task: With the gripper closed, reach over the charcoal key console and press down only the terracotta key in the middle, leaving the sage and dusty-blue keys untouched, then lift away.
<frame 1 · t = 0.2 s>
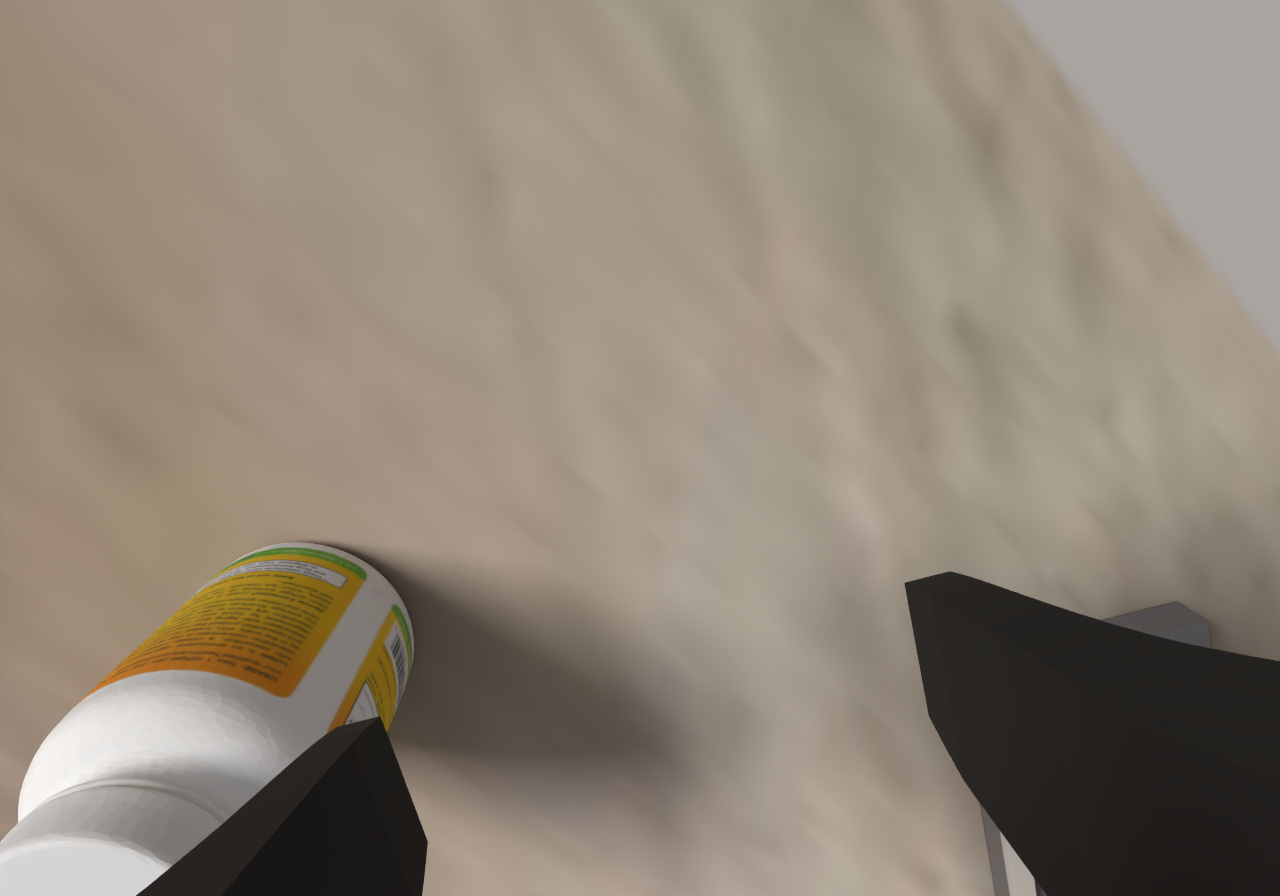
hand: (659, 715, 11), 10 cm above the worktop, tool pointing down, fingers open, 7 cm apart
supplement bottle: (312, 633, 22), on the worktop
console: (1096, 872, 24), on the worktop
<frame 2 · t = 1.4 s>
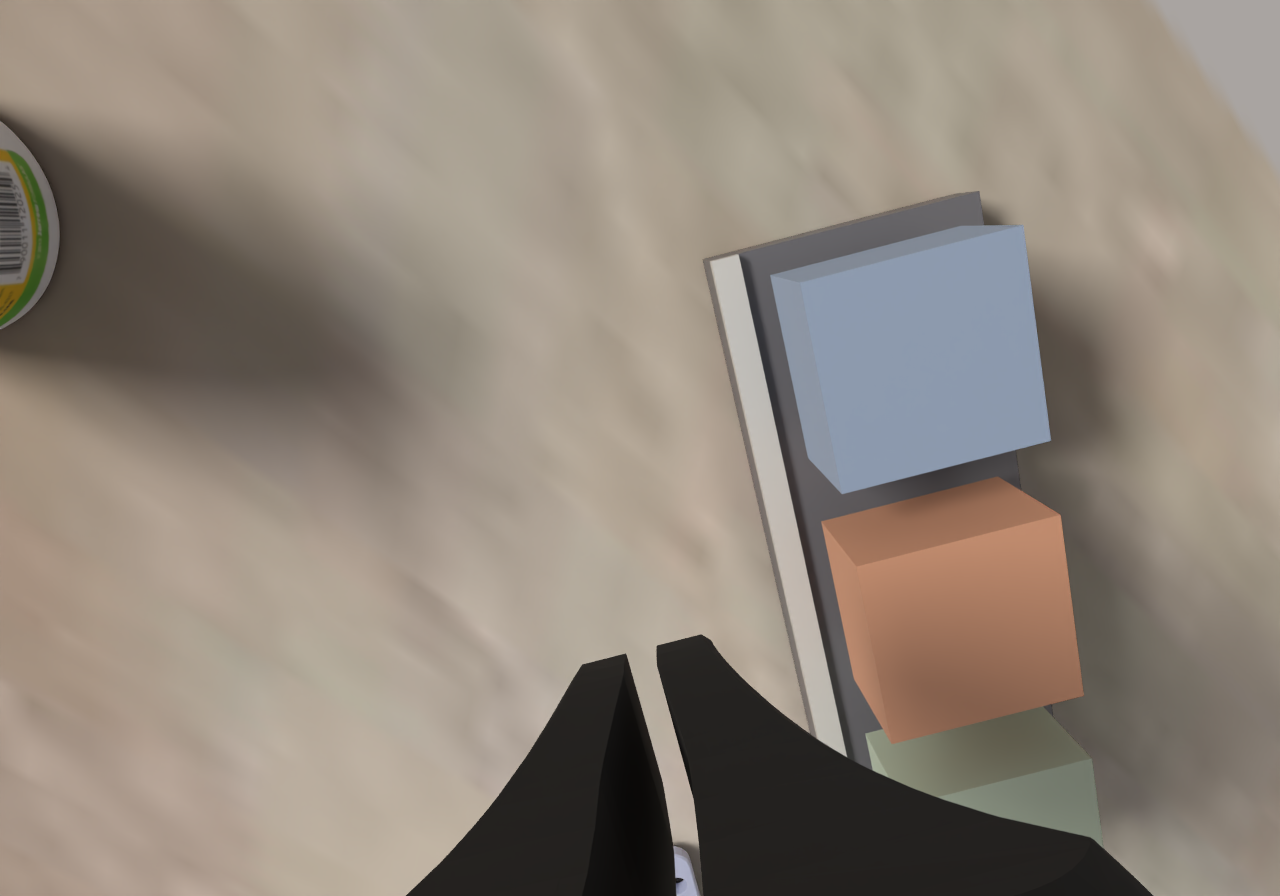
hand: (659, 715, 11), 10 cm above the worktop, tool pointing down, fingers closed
blue key: (903, 354, 17), point 4 cm above the worktop, slide at 0.0 cm
sage key: (983, 819, 19), point 4 cm above the worktop, slide at 0.0 cm
console: (888, 542, 21), on the worktop
terracotta key: (946, 604, 18), point 4 cm above the worktop, slide at 0.0 cm
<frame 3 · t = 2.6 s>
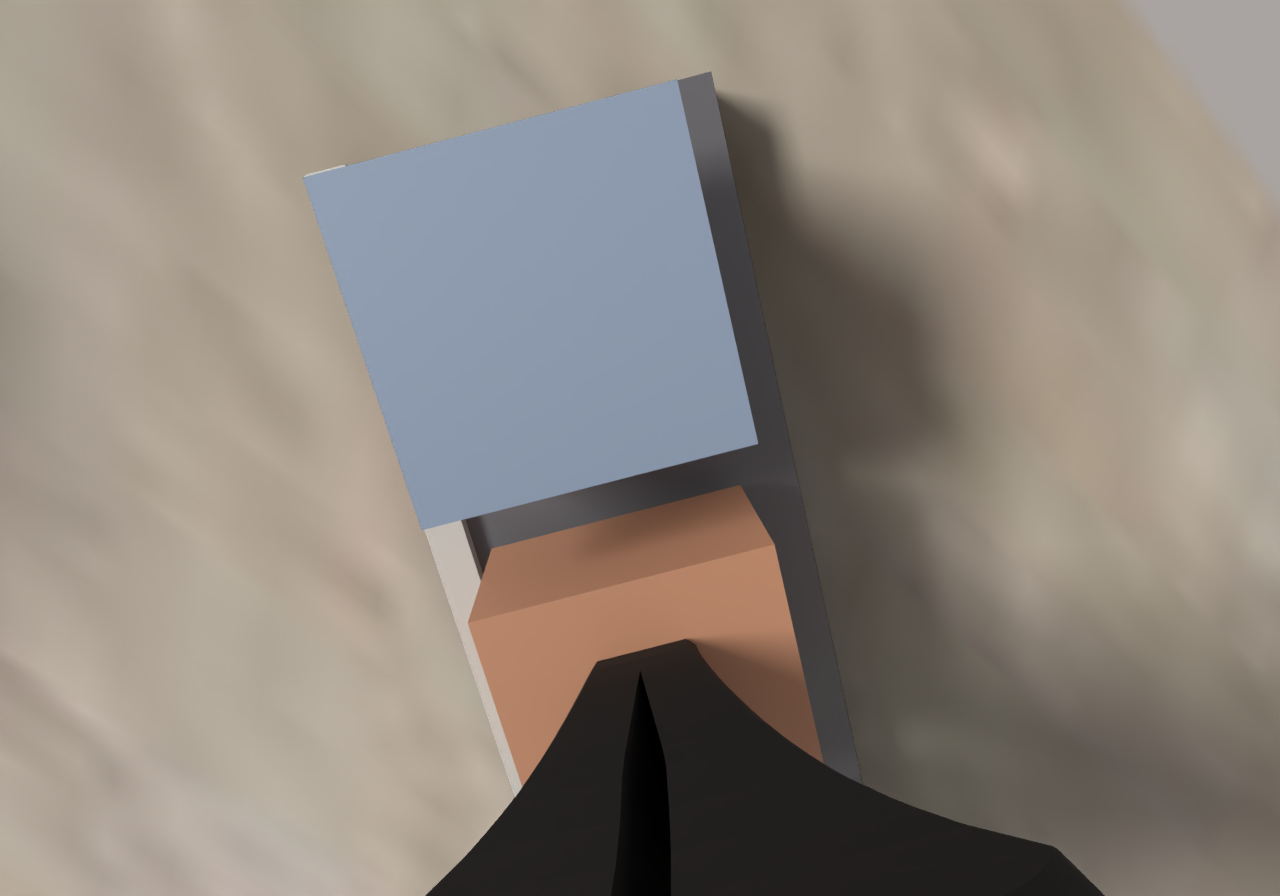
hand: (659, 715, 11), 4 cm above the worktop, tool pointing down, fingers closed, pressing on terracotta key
blue key: (548, 307, 11), point 4 cm above the worktop, slide at 0.0 cm
console: (640, 584, 15), on the worktop
terracotta key: (652, 670, 12), point 3 cm above the worktop, slide at 0.6 cm, touching gripper
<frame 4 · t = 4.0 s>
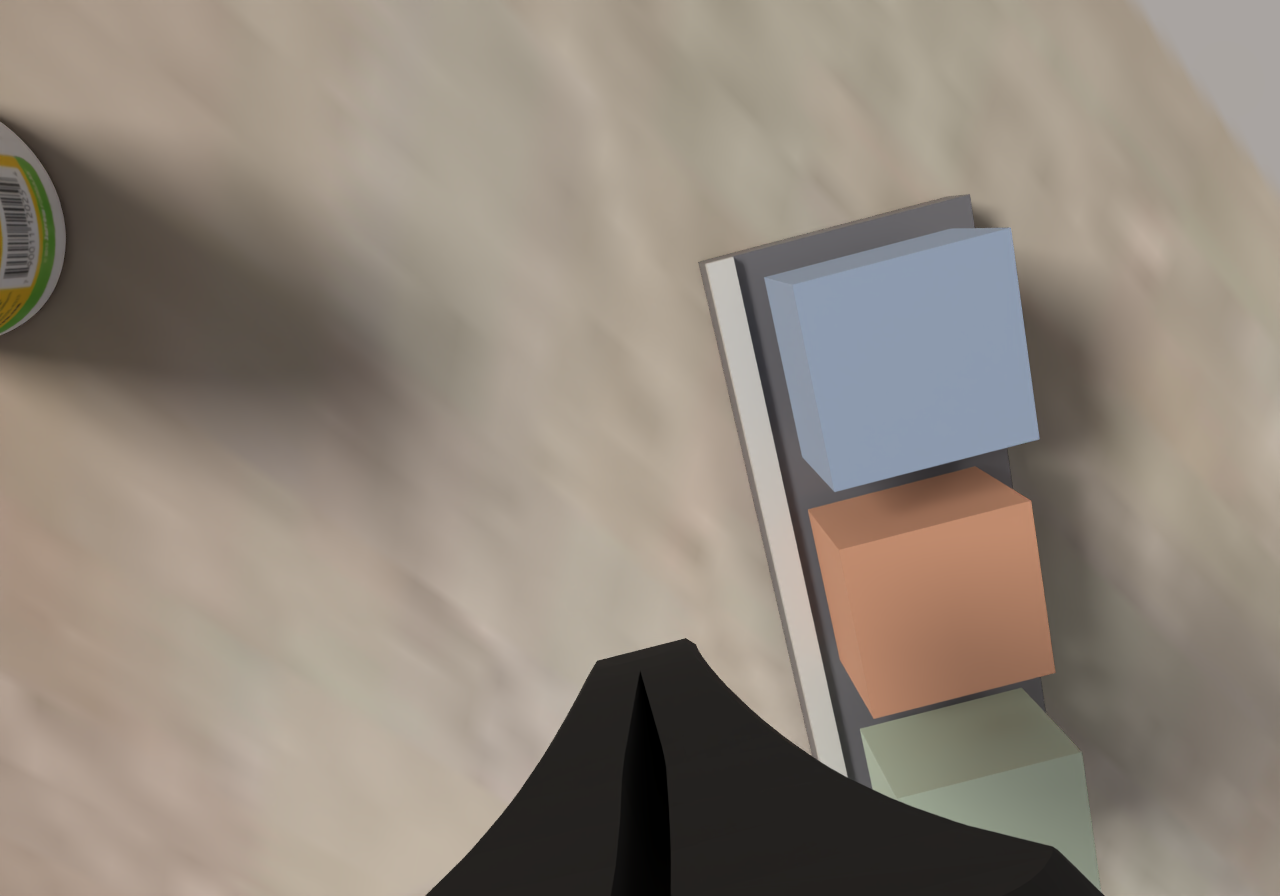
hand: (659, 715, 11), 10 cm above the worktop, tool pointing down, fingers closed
blue key: (895, 354, 17), point 4 cm above the worktop, slide at 0.0 cm
sage key: (976, 813, 20), point 4 cm above the worktop, slide at 0.0 cm
console: (882, 540, 22), on the worktop
terracotta key: (926, 587, 19), point 3 cm above the worktop, slide at 0.7 cm
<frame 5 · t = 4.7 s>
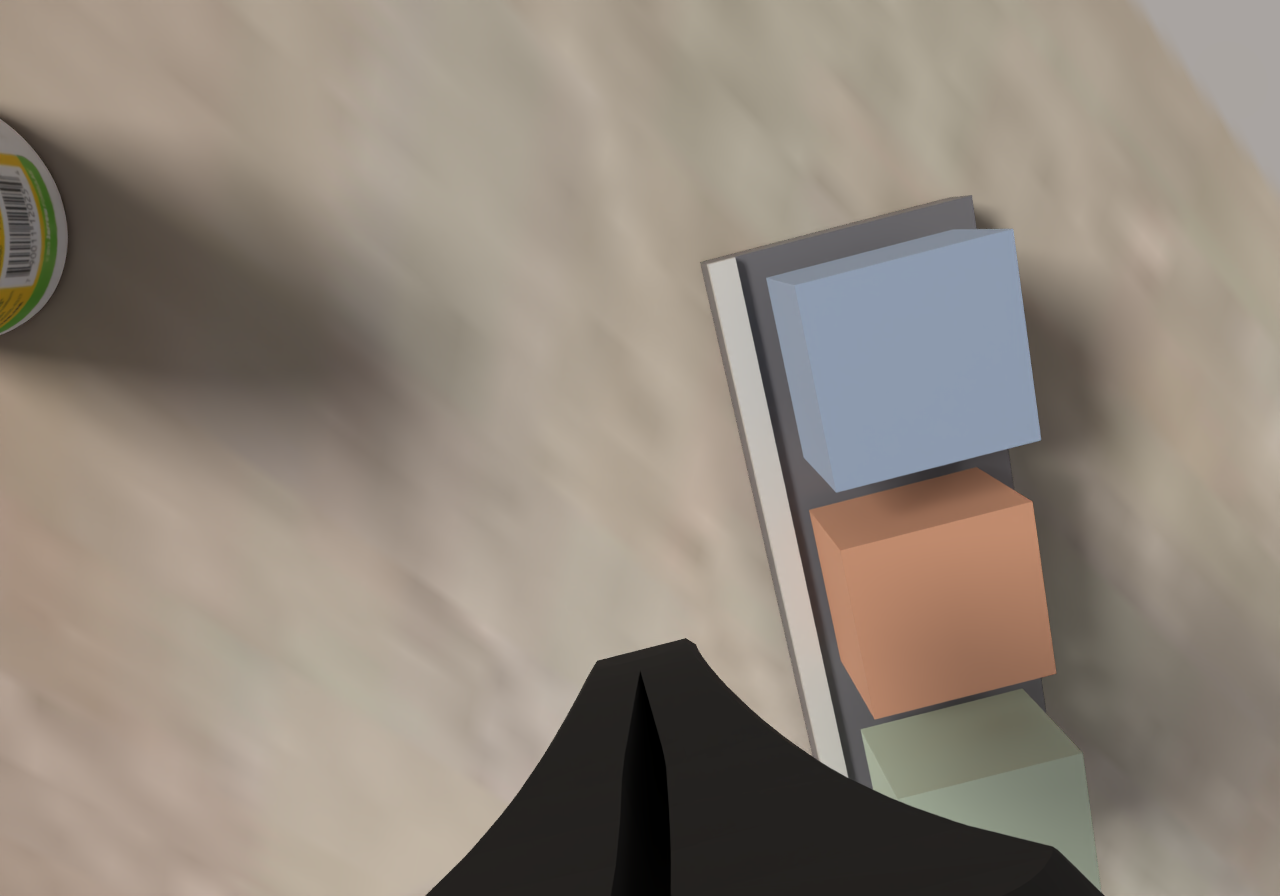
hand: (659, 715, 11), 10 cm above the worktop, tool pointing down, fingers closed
blue key: (897, 355, 17), point 4 cm above the worktop, slide at 0.0 cm
sage key: (977, 813, 20), point 4 cm above the worktop, slide at 0.0 cm
console: (883, 541, 22), on the worktop
terracotta key: (927, 588, 19), point 3 cm above the worktop, slide at 0.7 cm
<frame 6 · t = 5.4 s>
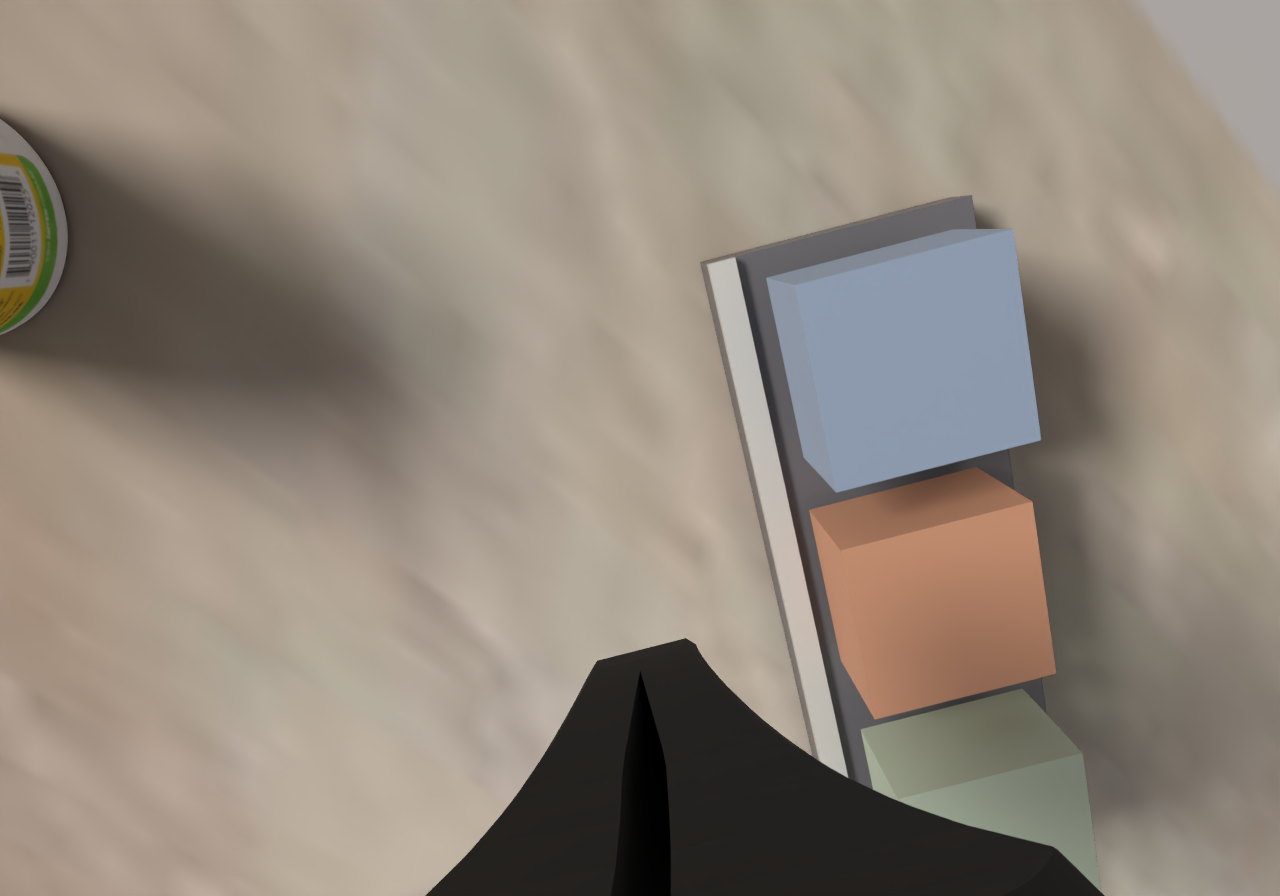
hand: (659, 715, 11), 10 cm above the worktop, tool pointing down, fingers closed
blue key: (897, 355, 17), point 4 cm above the worktop, slide at 0.0 cm
sage key: (977, 813, 20), point 4 cm above the worktop, slide at 0.0 cm
console: (883, 541, 22), on the worktop
terracotta key: (927, 588, 19), point 3 cm above the worktop, slide at 0.7 cm
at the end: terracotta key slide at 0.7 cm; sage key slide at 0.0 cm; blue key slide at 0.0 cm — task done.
